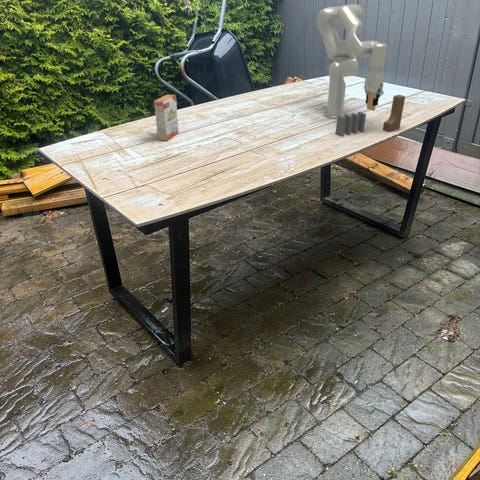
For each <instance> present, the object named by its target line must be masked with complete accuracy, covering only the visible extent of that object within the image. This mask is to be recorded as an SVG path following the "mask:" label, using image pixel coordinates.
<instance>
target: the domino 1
mask: <svg viewBox="0 0 480 480" xmlns="http://www.w3.org/2000/svg"><path fill="white" fill-rule="evenodd" d="M345 119H346V118H345V117H343V116H341V115H338V116H337V118H336V128H335V134H336V135H337V136H339V137H344V135H345V133H344V128H345Z"/></svg>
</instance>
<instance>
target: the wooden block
mask: <svg viewBox="0 0 480 480" xmlns="http://www.w3.org/2000/svg"><path fill="white" fill-rule="evenodd" d="M405 100H406V96H405V95H402V94H396V95H393V98H392V103H391V110H390V114H389V115H390V116H389V118H388V119H387V120H385V121H384V122H383V126H382V131H386V132H387V133H388V132H393V131H397V130H400V129H401V123H402V118H403V112H404V106H405Z"/></svg>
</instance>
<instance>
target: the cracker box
mask: <svg viewBox="0 0 480 480" xmlns="http://www.w3.org/2000/svg"><path fill="white" fill-rule="evenodd" d="M153 105H154V115H155V123H156V124H155V125H156V133H157V140H158V141H162V142H164V141H165V142H168V141H169V140H171V139H172V138H173V137H175V136H177V135H178V134H179V120H178V119H179V118H178V107H177V95H176V94H165V95H163V96H161V97H159V98H158V99H156V100H154V101H153Z"/></svg>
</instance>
